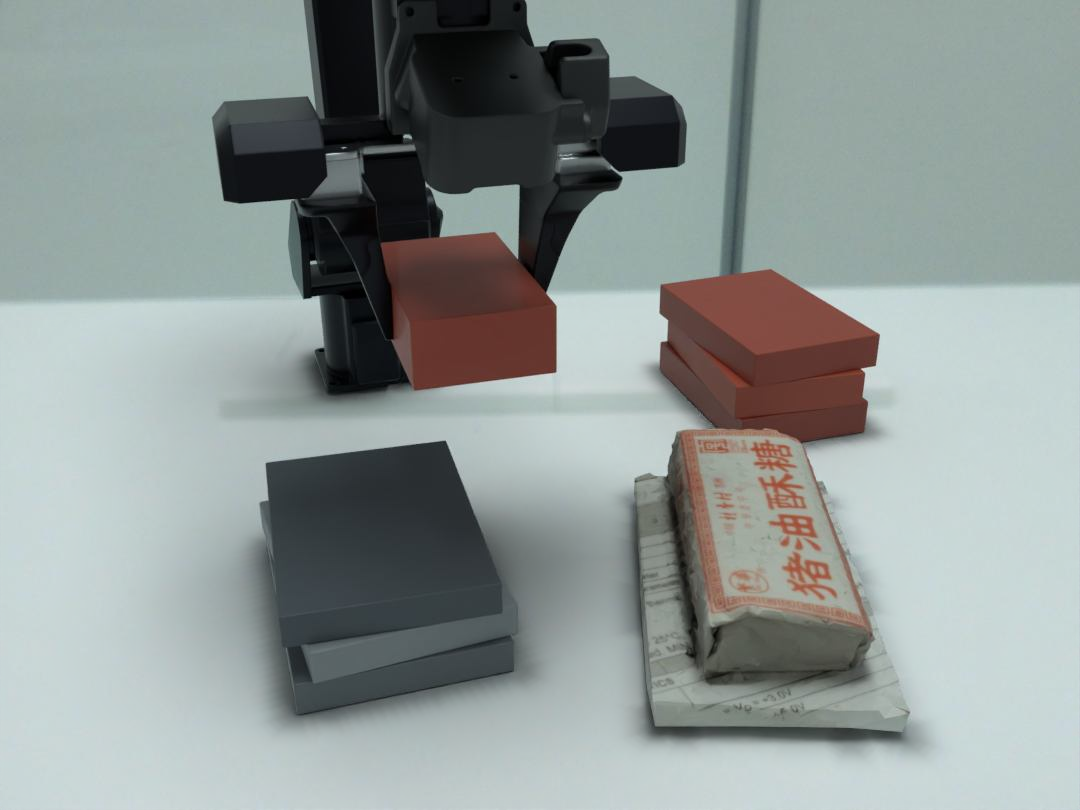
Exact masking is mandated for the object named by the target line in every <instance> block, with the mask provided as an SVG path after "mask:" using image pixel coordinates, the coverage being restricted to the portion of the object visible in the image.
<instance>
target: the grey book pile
mask: <svg viewBox="0 0 1080 810" xmlns="http://www.w3.org/2000/svg"><path fill="white" fill-rule="evenodd" d="M264 466H265V476H266V477H265V478H266V487H267V499H268V500H262V501H259V504H258V505H259V512H260V519H261V528H262V531H263V534H264V537H265V542H266V548H267V555H268V559H269V565H270V570H271V576H272V582H273V588H274V593H275V598H276V608H277V609H276V610H277V620H278V627H279V628H278V629H279V634H280V635H279V636H280V643H281V647H282V648H283V649H285V655H286V660H287V665H288V671H289V675H290V676H289V677H290V682H291V688H292V695H293V700H294V704H295V710H296V714H297V715H299V716H300V715H305V714H309V713H313V712H318V711H323V710H327V709H332V708H338V707H343V706H347V705H352V704H357V703H361V702H366V701H371V700H376V699H381V698H385V697H390V696H391V697H392V696H397V695H401V694H405V693H406V694H407V693H411V692H415V691H420V690H425V689H430V688H434V687H435V688H436V687H439V686H445V685H449V684H454V683H460V682H464V681H468V680H474V679H478V678H483V677H488V676H492V675H497V674H503V673H507V672H512V671H515V642H514V640H513V637H512V636H515V635H517V634H518V633H519V611H518V604H517V601H516V600H515V599H514V597H513V596H512V594H511V592H510V590H509V589H508V588H507V585H506V584H505V582H504V581H503V580H502V578H501V576H500V574H499V573H498V570H497V568H496V565H495V562H494V560H493V557H492V555H491V551H490V550H489V547H488V544H487V542H486V540H485V537H484V534H483V532H482V528H481V526H480V524H479V520H478V519H477V516H476V514H475V511H474V509H473V506H472V504H471V500H470V499H469V496H468V493H467V491H466V489H465V485H464V483H463V480H462V477H461V474H460V473H459V471H458V470H459V469H458V467H457V465H456V463H455V460H454V457H453V455H452V452H451V449H450V447H449V443H448V442H447V440H438V441H430V442H421V443H414V444H406V445H398V446H390V447H382V448H381V447H380V448H374V449H365V450H356V451H349V452H342V453H341V452H340V453H333V454H324V455H317V456H315V455H314V456H310V457H308V456H307V457H301V458H300V457H299V458H291V459H284V460H277V461H276V460H275V461H269V462H268V461H267V462H265V465H264Z"/></svg>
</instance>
